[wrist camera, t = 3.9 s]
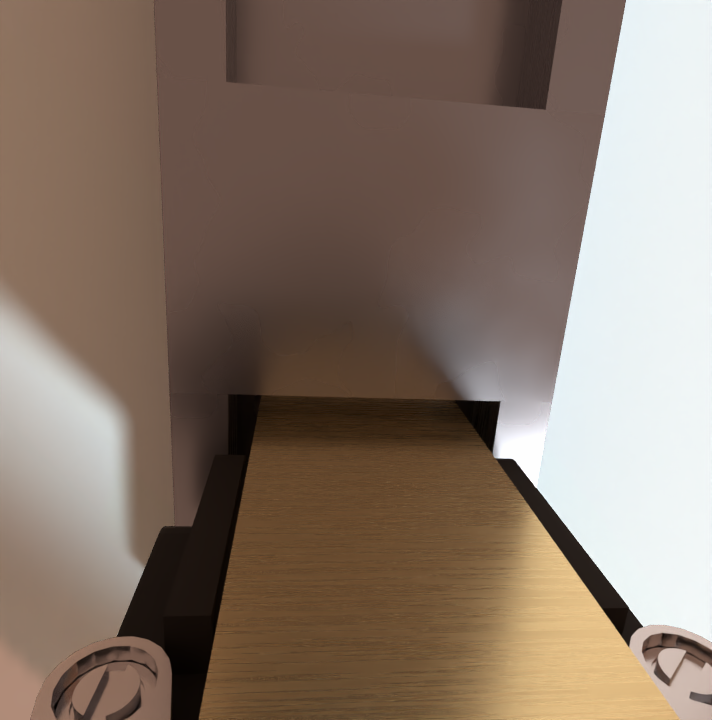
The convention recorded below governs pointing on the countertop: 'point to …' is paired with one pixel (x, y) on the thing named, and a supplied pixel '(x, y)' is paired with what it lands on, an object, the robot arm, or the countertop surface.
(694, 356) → the countertop surface
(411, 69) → the grey slotted board
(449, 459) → the wooden block
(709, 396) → the countertop surface
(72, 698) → the robot arm
